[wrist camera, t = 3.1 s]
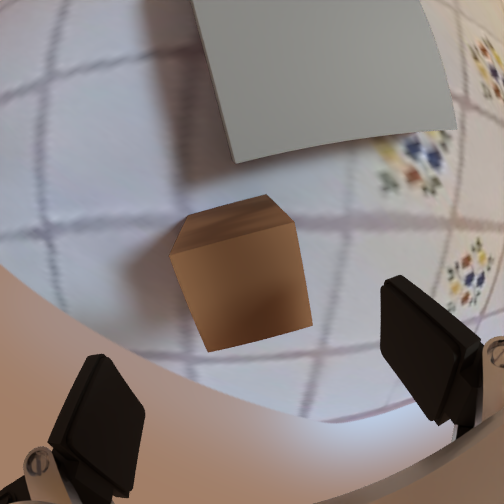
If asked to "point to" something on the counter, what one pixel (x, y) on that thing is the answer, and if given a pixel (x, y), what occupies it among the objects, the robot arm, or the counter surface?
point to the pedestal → (321, 72)
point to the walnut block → (242, 273)
